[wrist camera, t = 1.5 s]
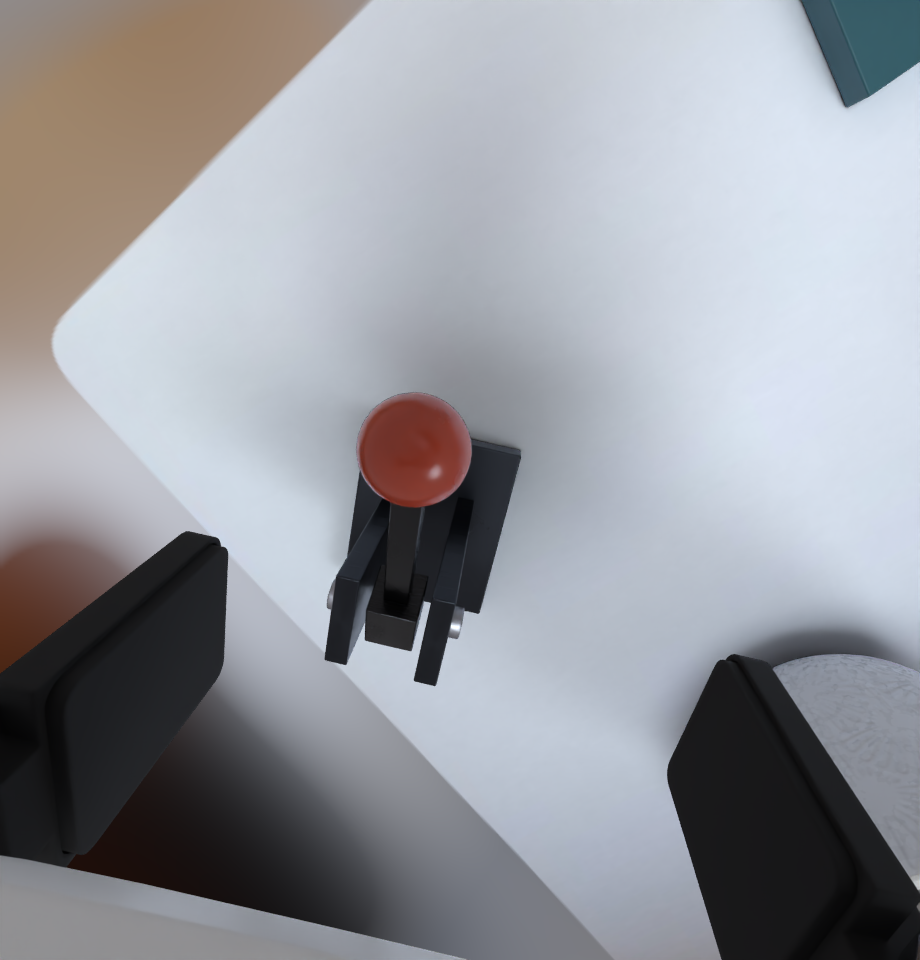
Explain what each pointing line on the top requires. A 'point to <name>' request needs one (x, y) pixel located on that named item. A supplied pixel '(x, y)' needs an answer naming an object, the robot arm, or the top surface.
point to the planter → (868, 737)
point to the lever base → (428, 556)
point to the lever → (408, 499)
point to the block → (866, 41)
